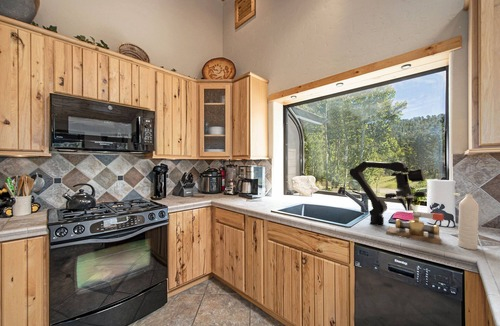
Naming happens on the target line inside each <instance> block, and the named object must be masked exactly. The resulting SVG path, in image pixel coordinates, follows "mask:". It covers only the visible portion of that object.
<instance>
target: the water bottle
mask: <svg viewBox="0 0 500 326" xmlns="http://www.w3.org/2000/svg"><path fill="white" fill-rule="evenodd" d="M452 195H453V196H457V197H458V196H459V197H460V196H461V193H459V192H458V193H457V192H453V193H452ZM458 204H459V205H458V225H457V226H458V228H457V230H458V232H457V234H458V235H457V238H458V240H457V245H458V246H459V247H461V248H464V249H466V250H472V251H473V250H478V243H479V242H478V238H479V235H478V234H479V232H478V231H479V214H480V213H479V210H480V206H479V203H478V202H477V201H476V200H475V199H474V196H473V194H469V193H466V194H465V196H464V198H463V199H462V200H461V201H459V203H458Z"/></svg>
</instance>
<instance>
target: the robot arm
mask: <svg viewBox="0 0 500 326" xmlns="http://www.w3.org/2000/svg"><path fill="white" fill-rule="evenodd" d="M368 168H372V169H384V170H389V171H391V172H392V173H391V175H390V176H391V177H395V181H396V189H395V193H394V192H393V193H392V192H391V193H389V192H388V193H385V194H384V197H385V199H393V198H396V200H398V201H399V202H400V203H401V204H402V206H403V208H404V209H405V211H410V208H411V205H412V201H413V200H414V199H416V198H415V197H417V198H425V197H427V193H426V192H425V191H415V192H412V188H411V187H410V181H411V183H418V182H419V183H420V182H425V181H426V177H425V174H424V172H423V169H422V168H420V169H415V170H413V169H412V170H411V169H410V168H409V167H408V166H407V164H406V163H405V162H404V161H393V162H383V161H381V162H378V161H368V160H363V161H362V162H361V163H359V164H358V165H356V166H355V167H354V168H351V169H349V175H350V177H351V178H352V179H354V180H355V181H356V182H357V183H358V184H359V186H360V187H361V189H362V190H363V192H364V193H365V194H366V196H367V198H368V199H369V200H370V204H371V207H372V209H371V210H369V214H370V223H369V225H374V226H380V227H382V226H383V225H384V224H385V223H384V222H385V218H384V216H383V215H384V213H385V212H386V211H387V210H388V206H387V205H388V204H387V203H386V202H385V200H384V198H382V199H381V198H379V197H378V196H377V194H376V193H375V191H374V190H373V189H372V188H371V186H370V185H369V183H368V182H367V180H366V179H365V175H364V172H365V170H366V169H368ZM405 198H406V199H405Z"/></svg>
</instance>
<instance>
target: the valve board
mask: <svg viewBox="0 0 500 326" xmlns="http://www.w3.org/2000/svg"><path fill="white" fill-rule="evenodd" d="M385 234H386V235H389V236H394V235H395V236H394V237H399V236H401V238H404V237H406V239H409V238H411V239H410V240H415V239H416V240H415V241H420V240H421V242H425V241H426V243H430V242H431V243H430V244H434V245H442V244H441V242H442V241H441V236H440V234H439V235H434V238H430V237H428V232H424V236H416V235H412V234H410V233H409V229H406V228H405V233H403V232H399V228H396V226H391V225H389V226H388V227H387V228H386V231H385Z"/></svg>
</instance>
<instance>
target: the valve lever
mask: <svg viewBox="0 0 500 326" xmlns="http://www.w3.org/2000/svg"><path fill="white" fill-rule="evenodd" d="M412 217H413V218H414V217H419V218H423V219H430V220H433V221H441V222H443V221H444V214H443V213H437V212H432V213H430V212H429V213H428V212H423V211H416V210H415V211H412Z"/></svg>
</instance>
